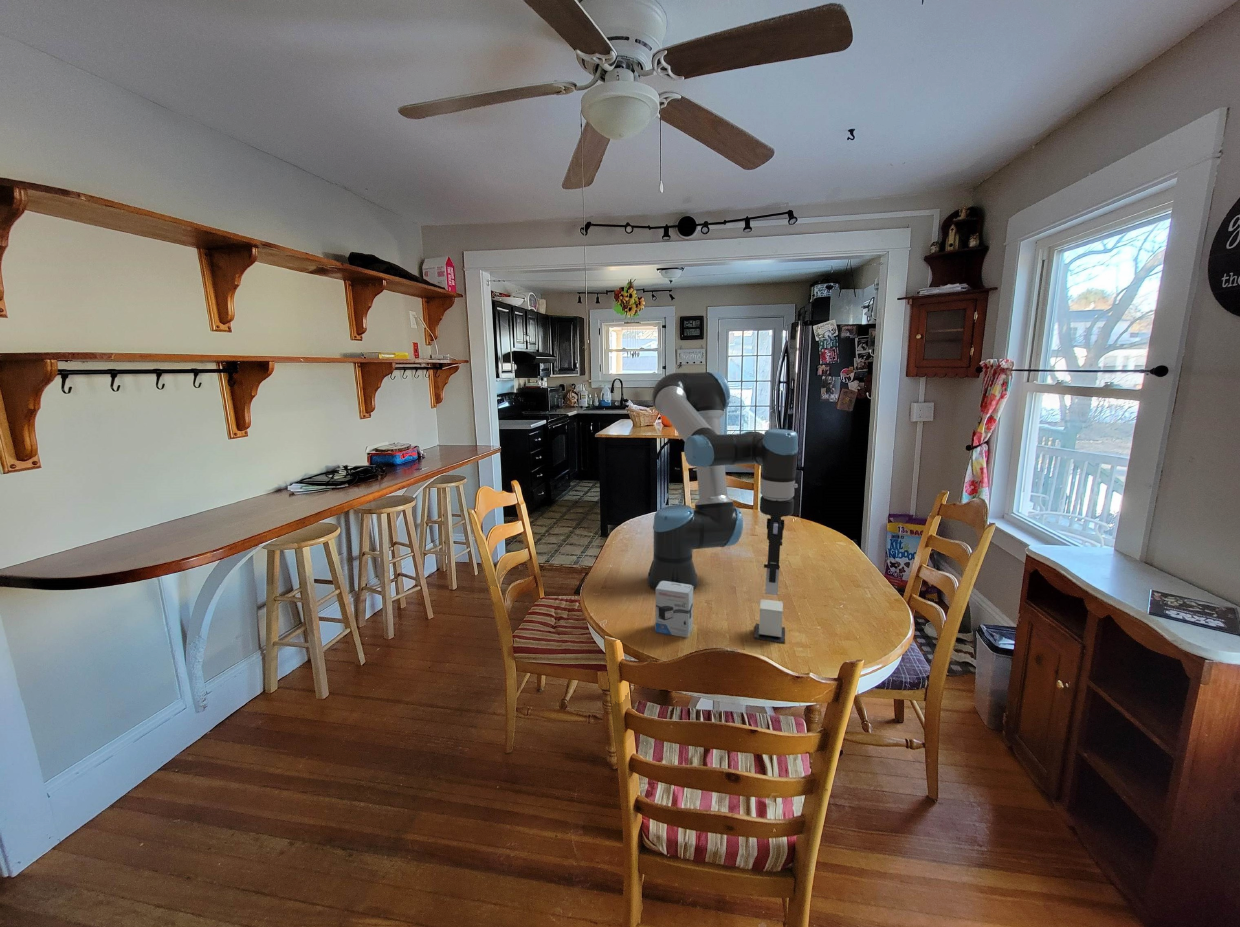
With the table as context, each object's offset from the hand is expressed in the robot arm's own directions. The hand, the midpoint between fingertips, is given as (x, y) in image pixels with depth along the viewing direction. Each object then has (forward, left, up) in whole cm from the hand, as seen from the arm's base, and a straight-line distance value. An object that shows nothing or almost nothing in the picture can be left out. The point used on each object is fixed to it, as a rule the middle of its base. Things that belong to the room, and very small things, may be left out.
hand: (771, 581), depth 122 cm
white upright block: (0, 0, -12) cm, 12 cm away
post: (0, 0, -13) cm, 13 cm away
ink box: (-18, -15, -14) cm, 27 cm away
